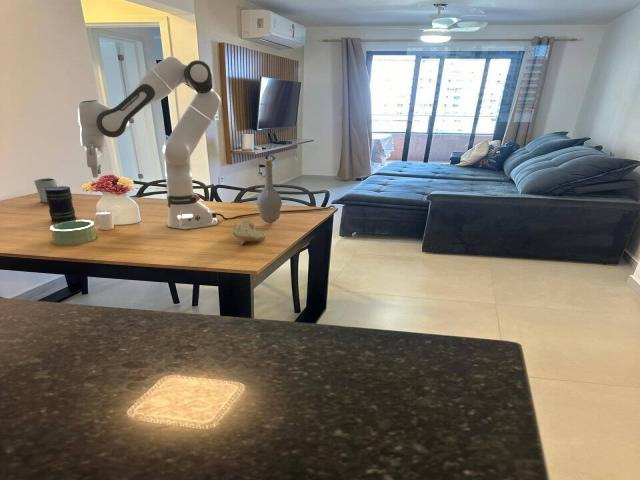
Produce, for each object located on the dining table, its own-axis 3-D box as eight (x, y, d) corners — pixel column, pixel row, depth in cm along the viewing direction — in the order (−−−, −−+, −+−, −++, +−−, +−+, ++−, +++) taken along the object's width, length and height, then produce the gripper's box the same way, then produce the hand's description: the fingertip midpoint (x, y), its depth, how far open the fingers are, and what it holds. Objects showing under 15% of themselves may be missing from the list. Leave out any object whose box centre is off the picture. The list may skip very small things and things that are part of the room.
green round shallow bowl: (98, 232, 162) (95, 219, 160) (93, 243, 150) (90, 228, 148) (57, 236, 157) (55, 222, 155) (49, 247, 144) (46, 232, 142)
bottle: (275, 228, 174) (274, 162, 164) (253, 225, 177) (251, 160, 168) (285, 222, 184) (285, 159, 174) (264, 219, 187) (262, 157, 178)
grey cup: (59, 201, 213) (55, 180, 209) (37, 203, 208) (32, 181, 204) (60, 198, 221) (56, 177, 217) (39, 199, 216) (34, 178, 212)
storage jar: (56, 223, 173) (49, 191, 168) (47, 219, 179) (40, 188, 174) (79, 219, 181) (73, 188, 176) (71, 215, 186) (65, 185, 182)
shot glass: (108, 230, 165) (105, 215, 163) (94, 229, 166) (91, 214, 164) (119, 226, 171) (116, 211, 169) (105, 225, 173) (103, 210, 170)
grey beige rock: (256, 239, 164) (227, 220, 158) (267, 229, 161) (238, 209, 155) (253, 262, 152) (222, 242, 145) (265, 251, 149) (233, 230, 142)
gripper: (99, 144, 149) (102, 179, 153) (105, 140, 166) (108, 172, 171) (80, 143, 146) (84, 179, 150) (88, 139, 164) (91, 171, 168)
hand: (97, 175), depth 161 cm, fingers open, 8 cm apart
